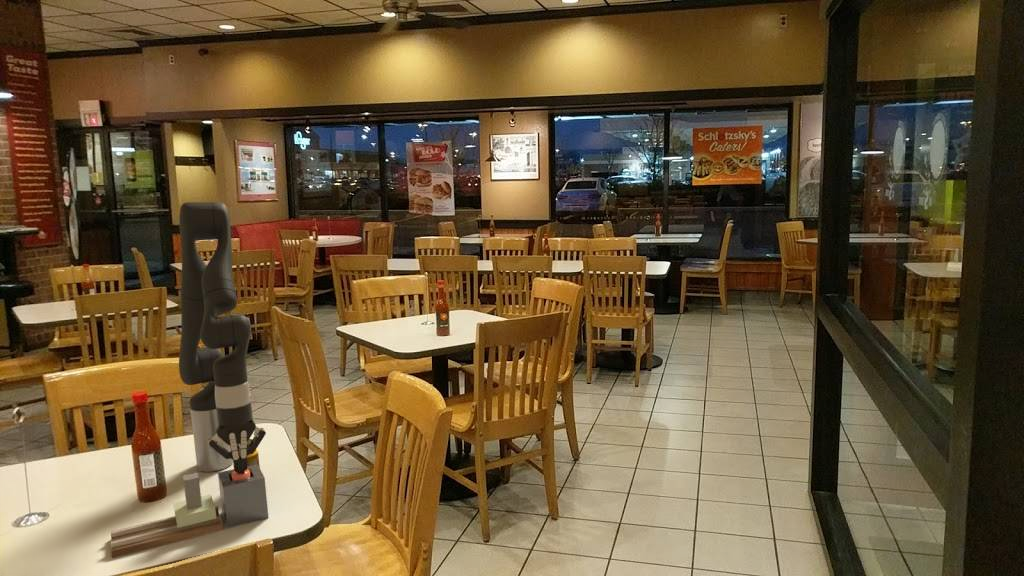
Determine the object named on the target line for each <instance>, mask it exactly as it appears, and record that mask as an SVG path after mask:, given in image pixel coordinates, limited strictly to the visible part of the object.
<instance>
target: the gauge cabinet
mask: <svg viewBox="0 0 1024 576" xmlns="http://www.w3.org/2000/svg"><path fill="white" fill-rule="evenodd" d="M247 469H248V470H250V478H245V479H241V480H237V481H232V473H233V472H234V471H235V470H234V468H233V469H229V470H228V469H227V470H224V471H220V472H218V473H217V478H218V484H219V485H218V486H219V496H220V503H221V513H222V515H223V518H224V522H225V525H226V528H227V529H230V528H234V527H238V526H242V525H247V524H251V523H253V522H258V521H262V520H266V519H269V509H268V500H267V499H268V498H267V490H266V487H265V486H266V477H265V476H264V474H263V472H262V470H261V467H260V468H259V466H258V464H255V465H251V466H247Z"/></svg>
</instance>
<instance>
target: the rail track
mask: <svg viewBox="0 0 1024 576" xmlns="http://www.w3.org/2000/svg"><path fill="white" fill-rule="evenodd" d="M214 506H215V510H216V519H212V520H208V521H204V522H200V523H196V524H192V525H188V526H184V527H179V528H177V522H176V517H175V515H174V516H170V517H166V518H162V519H157V520H154V521H149V522H145V523H140V524H137V525H133V526H128V527H124V528H120V529H115V530H112V531H110V537H111V539H110V549H111V550H110V553H111V558H113V559H114V558H116V557H121V556H125V555H128V554H133V553H136V552H140V551H144V550H148V549H151V548H155V547H159V546H160V547H161V546H163V545H168V544H172V543H175V542H180V541H184V540H188V539H191V538H194V537H199V536H203V535H207V534H210V533H215V532H218V531H223V529H224V528H223V521H222V517H221V514H220V512H219V506H218V505H214Z"/></svg>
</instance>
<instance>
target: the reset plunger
mask: <svg viewBox="0 0 1024 576" xmlns="http://www.w3.org/2000/svg"><path fill="white" fill-rule="evenodd" d="M245 478H250V470H248V469H247V470H245V473H243V474H238V472H235V471H234V472H233V473H232V481H237V480H241V479H245Z"/></svg>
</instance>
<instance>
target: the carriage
mask: <svg viewBox="0 0 1024 576" xmlns="http://www.w3.org/2000/svg"><path fill="white" fill-rule="evenodd" d="M182 478H183V479H182V480H183V486H184V487H183V488H184V495H185V500H180V501H176V502H173V508H174V516H175V517H176V522H177V528H179V527H184V526H188V525H192V524H196V523H200V522H204V521H208V520H212V519H216V510H215V506H216V505H215V503H214V500H213V497H212V494H206V495H202V493H201V487H200V479H199V474H198V472H195V473H188V474H185V475H183V476H182Z"/></svg>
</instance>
